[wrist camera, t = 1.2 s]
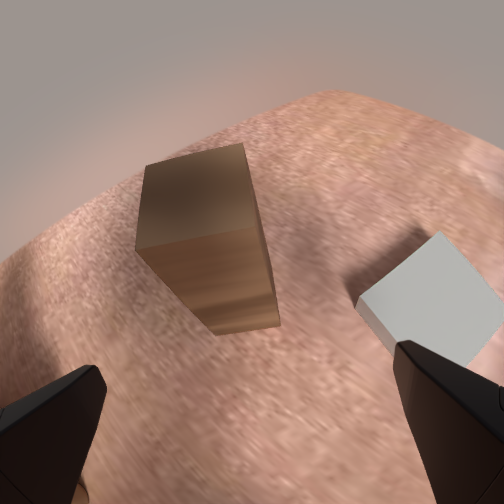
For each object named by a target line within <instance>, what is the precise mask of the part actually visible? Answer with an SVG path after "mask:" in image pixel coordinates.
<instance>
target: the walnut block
mask: <svg viewBox="0 0 504 504" xmlns="http://www.w3.org/2000/svg"><path fill="white" fill-rule="evenodd" d="M135 251H136V252H137V253H138V254H139V255H140V256H141V257H142V259H143V260H144V261H145V262H146V263H147V264H148V265H149V266H150V268H151V269H152V270H153V271H154V272H155V273H156V274H157V275H158V276H159V278H160V279H161V280H162V281H163V282H164V283H165V284H166V285H167V286H168V287H169V288H170V289H171V291H172V292H173V293H174V294H175V295H176V296H177V297H178V298H179V299H180V300H181V301H182V302H183V303H184V304H185V305H186V306H187V307H188V308H189V309H190V311H191V312H192V313H193V314H194V315H195V316H196V317H197V318H198V319H199V320H200V321H201V322H202V323H203V324H204V325H205V326H206V327H207V328H208V329H209V330H210V331H211V332H212V333H213V334H214V335H215V336H218V335H226V334H233V333H240V332H246V331H253V330H259V329H266V328H272V327H278V326H281V323H280V316H279V310H278V304H277V297H276V291H275V285H274V279H273V273H272V267H271V262H270V258H269V253H268V249H267V244H266V240H265V236H264V231H263V227H262V223H261V218H260V214H259V210H258V205H257V201H256V197H255V192H254V188H253V184H252V180H251V175H250V171H249V167H248V163H247V159H246V154H245V150H244V146H243V143H239V144H234V145H229V146H224V147H220V148H215V149H211V150H206V151H202V152H198V153H193V154H189V155H185V156H181V157H177V158H173V159H169V160H165V161H162V162H158V163H154V164H151V165H148V166H146V167H145V173H144V180H143V186H142V193H141V201H140V209H139V217H138V225H137V235H136V245H135Z"/></svg>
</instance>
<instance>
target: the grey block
mask: <svg viewBox="0 0 504 504" xmlns="http://www.w3.org/2000/svg"><path fill="white" fill-rule="evenodd" d="M355 310H356V311H357V312H358V313H359V315H360V316H361V317H362V318H363V319H364V321H365V322H366V323H367V324H368V326H369V327H370V328H371V329H372V331H373V332H374V333H375V335H376V336H377V337H378V338H379V340H380V341H381V342H382V343H383V345H384V346H385V347H386V348H387V350H388V351H389V352H390V354H391V355H392V356H393V357H394V352H395V345H396V343H397V342H399V341H404V340H412V341H414V342H416V343H418V344H420V345H422V346H424V347H426V348H427V349H429V350H431V351H433V352H435V353H437V354H439V355H441V356H443V357H445V358H447V359H449V360H451V361H453V362H455V363H457V364H459V365H461V366H463V367H465V368H466V367H467V365H468V364H469V363H470V362H471V361H472V360H473V359H474V358H475V356H476V355H477V354H478V353H479V352H480V351H481V349H482V348H483V347H484V346H485V345H486V343H487V342H488V341H489V340H490V338H491V337H492V336H493V335H494V333H495V332H496V331H497V330H498V328H499V327H500V326H501V324H502V323H503V322H504V303H503V302H502V300H501V299H500V298H499V297H498V295H497V294H496V293H495V292H494V290H493V289H492V288H491V287H490V286H489V284H488V283H487V282H486V281H485V280H484V278H483V277H482V276H481V275H480V274H479V273H478V271H477V270H476V269H475V268H474V267H473V266H472V265H471V263H470V262H469V261H468V260H467V259H466V258H465V257H464V256H463V255H462V253H461V252H460V251H459V250H458V249H457V248H456V247H455V246H454V245H453V244H452V243H451V242H450V241H449V240H448V238H447V237H446V236H445V235H444V234H443V233H442V232H441V231H440V230H439V231H438V232H437V233H436V234H435V235H434V236H433V237H432V238H430V239H429V240H428V241H427V242H426V243H425V244H423V245H422V246H421V247H420V248H419V249H418V250H416V251H415V252H414V253H413V254H412V255H411V256H409V257H408V258H407V259H406V260H405V261H403V262H402V263H401V264H400V265H398V266H397V267H396V268H395V269H394V270H392V271H391V272H390V273H389V274H387V275H386V276H385V277H384V278H382V279H381V280H380V281H378V282H377V283H376V284H375V285H373V286H372V287H371V288H370V289H368V290H367V291H366V292H364V293H363V294H362V295H360V297H359V299H358V302H357V304H356V307H355Z"/></svg>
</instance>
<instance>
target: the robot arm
mask: <svg viewBox="0 0 504 504" xmlns="http://www.w3.org/2000/svg"><path fill="white" fill-rule="evenodd" d="M393 371H394V376H395V379H396V383H397V386H398V390H399V394H400V397H401V401H402V405H403V409H404V413H405V416H406V419H407V422H408V424H409V427H410V429H411V432H412V434H413V437H414V440H415V442H416V445H417V448H418V450H419V453H420V456H421V459H422V461H423V464H424V467H425V470H426V473H427V476H428V479H429V481H430V484H431V487H432V490H433V493H434V497H435V500H436V503H437V504H504V387H502V386H499V385H498V384H496V383H494V382H492V381H490V380H488V379H486V378H484V377H482V376H480V375H478V374H476V373H474V372H472V371H470V370H469V369H467V368H465V367H463V366H461V365H459V364H457V363H455V362H453V361H451V360H449V359H447V358H445V357H443V356H441V355H439V354H437V353H435V352H433V351H431V350H429V349H427V348H426V347H424V346H422V345H420V344H418V343H416V342H414V341H412V340H404V341H399V342H397V343H396V345H395V352H394V361H393ZM106 393H107V386H106V383H105V381H104V379H103V377H102V375H101V373H100V370H99V368H98V367H97V366H95V365H84V366H82V367H80V368H78V369H76V370H74V371H72V372H71V373H69V374H67V375H65V376H63V377H61V378H59V379H57V380H56V381H54V382H52V383H50V384H48V385H46V386H44V387H42V388H40V389H39V390H37V391H35V392H33V393H31V394H29V395H27V396H25V397H23V398H21V399H19V400H18V401H16V402H14V403H12V404H10V405H8V406H6V407H5V408H2V409H0V504H71V503H72V500H73V497H74V493H75V490H76V487H77V484H78V481H79V478H80V475H81V472H82V469H83V466H84V463H85V460H86V458H87V455H88V452H89V449H90V446H91V444H92V441H93V438H94V435H95V433H96V430H97V426H98V423H99V419H100V415H101V411H102V408H103V404H104V400H105V397H106Z"/></svg>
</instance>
